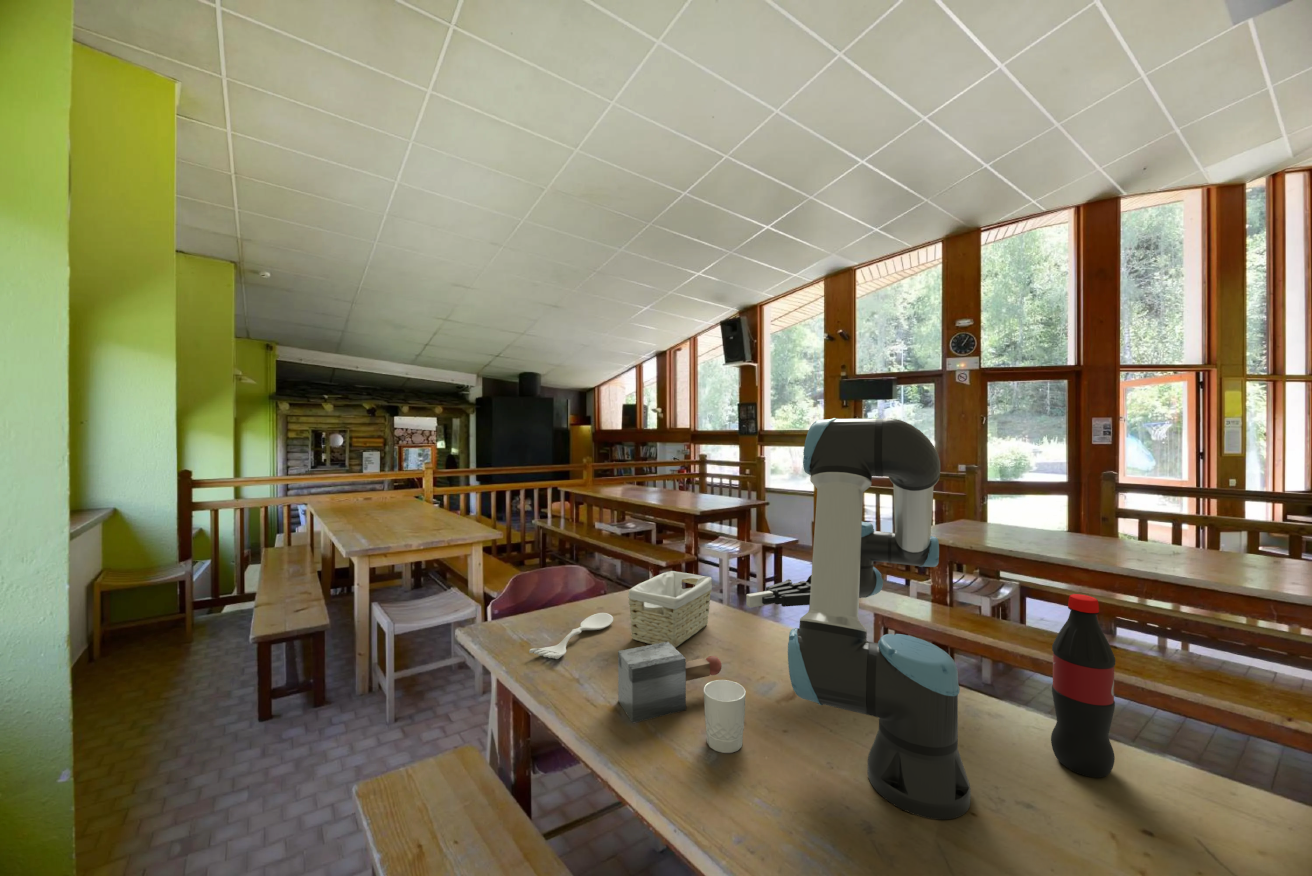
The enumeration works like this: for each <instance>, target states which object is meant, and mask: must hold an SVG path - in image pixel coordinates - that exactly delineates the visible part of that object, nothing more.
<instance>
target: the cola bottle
mask: <svg viewBox="0 0 1312 876" xmlns="http://www.w3.org/2000/svg"><path fill="white" fill-rule="evenodd" d="M1067 603H1068V604H1067V605H1068V606H1067V608H1068V610H1069V611H1070V613H1069V615H1068V618H1067V620H1066V622H1065V623H1064V624H1063V626H1062V627H1061V628H1060V630H1059V632H1058V633H1057V636H1056V637H1055V639H1054V641H1053V643H1052V644H1051V645H1052V649H1051V651H1052V684H1051V695H1052V700H1053V705H1054V711H1055V717H1056V723H1055V726H1054V728H1053V729H1052V731H1051V735H1050V745H1051V749H1052V751H1053V754H1054V756H1055V757H1056V759H1057V761H1059V762H1060V764H1062V765H1063V766H1064V767H1066V768H1068V769H1069V770H1071V771H1073V772H1074V773H1077V774H1079V775H1082V776H1084V777H1085V776H1086V777H1089V778H1090V777H1091V778H1103V777H1104V778H1105V777H1107V776H1109V774H1110V773H1111V772H1112V770H1113V768H1114V766H1115V759H1116V758H1115V752H1114V749H1113V746H1112V743H1111V740H1110V738H1109V734H1110V731H1111V725H1112V722H1113V717H1114V714H1115V713H1114V712H1115V708H1116V702H1115V666H1116V657H1115V654H1114V652H1113V650H1112V648H1111V645H1110V643H1109V641H1108V639H1107V638H1106V636H1105V634H1104V632H1103V630H1102V628H1101V627H1100V624H1099V619H1098V616H1097V615H1099V614H1100V606H1099V605H1100V604H1099V601H1098V599H1097V598H1096V597H1093V596H1090V595H1087V594H1079V593H1078V594H1077V593H1072V594H1070V595H1069V597H1068V602H1067Z"/></svg>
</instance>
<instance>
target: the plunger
mask: <svg viewBox="0 0 1312 876" xmlns="http://www.w3.org/2000/svg"><path fill="white" fill-rule="evenodd" d="M722 666H723V665H722V661H721V660H720V659H719V657H717V656H715V655H710V656H708V657H706V658H704V657H703V658H697V659H693V660H687V661H686V682H689V681H692V680H693V681H694V680H697V679H701V678H706V677H710V676H717V675H719V673H720V672H721V670H722Z"/></svg>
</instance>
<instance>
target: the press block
mask: <svg viewBox="0 0 1312 876" xmlns="http://www.w3.org/2000/svg"><path fill="white" fill-rule="evenodd" d="M617 654H618V655H617V672H618V673H617V674H618V676H617V685H618V686H617V687H618V688H617V693H618V694H617V695H618V703H619V704H620V706H621V707H622V709H623V710H624V712H625V714H626V715H627V717H628V718H629V720H630V721H631V723H632V724H635V723H639V722H642V721H647V720H651V719H654V718H659V717H662V716H663V717H664V716H667V715H672V714H675V713H679V712H683V711H687V697H686V696H687V688H686V687H687V684H686V682H687V681H686V662H687V661H686V659H687V658H686V657H685V656H684V655H683V654H682V653H681V652H680V651H679V650H677V649H676V648H674V647H673V646H672V645H671V644H670V643H669V642H664V643H659V644H653V645H652V644H649V645H643V646H638V647H633V648H628V649H622V650H618V651H617Z"/></svg>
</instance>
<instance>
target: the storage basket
mask: <svg viewBox="0 0 1312 876" xmlns="http://www.w3.org/2000/svg"><path fill="white" fill-rule="evenodd" d="M712 579H713V578H712V577H711V576H703V575H699V574H694V573H687V572H681V571H675V570H670V571H665V572H663V573H661V574H658V575H655V576H654V577H651V578H650V579H647V580H645V581H643V582H639V583H638V584H636V585H634V586H633V587H631V588H630V589H629V590H628V605H629V611H630V612H629V616H630V617H629V618H630V631H631V635H630V636H631V638H632V639H633V640H634V641H639V642H641V643H645V644H649V645H653V644H659V643H664V642H669V643H670V644H671V645H672V646H673V647H674V648H675V649H676V648H677V647H679V646H680V645H681V644H683V643H684V642H685V641H687V640H688V639H690V638H691V637H692V636H694V635H696V634H697V633H698V632H700V630H702V629H704V628H705V627H706V626H707V625H708V624H709V623H708V622H709V613H710V603H711V592H712V589H713V585H712V584H713V583H712V581H713V580H712ZM683 583H685V584H686V583H687V584H690V585H694V586H693V587H687V588H683Z"/></svg>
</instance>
